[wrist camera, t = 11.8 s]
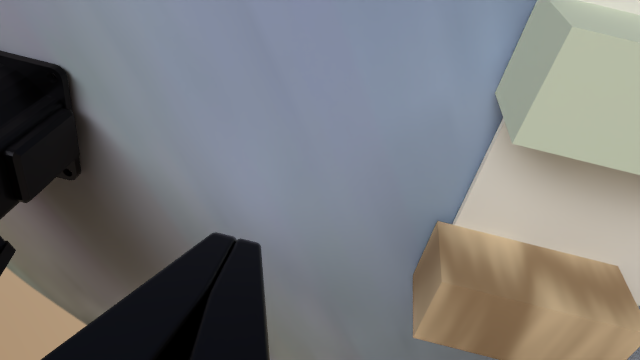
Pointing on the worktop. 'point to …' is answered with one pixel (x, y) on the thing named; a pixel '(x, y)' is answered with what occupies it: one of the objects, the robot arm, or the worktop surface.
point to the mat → (558, 199)
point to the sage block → (576, 84)
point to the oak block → (520, 300)
